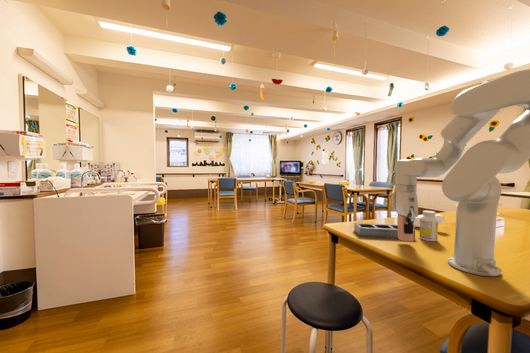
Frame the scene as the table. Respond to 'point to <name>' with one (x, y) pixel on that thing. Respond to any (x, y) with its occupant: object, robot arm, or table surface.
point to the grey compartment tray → (377, 230)
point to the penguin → (438, 216)
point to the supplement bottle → (429, 226)
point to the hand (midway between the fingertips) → (405, 231)
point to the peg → (401, 233)
